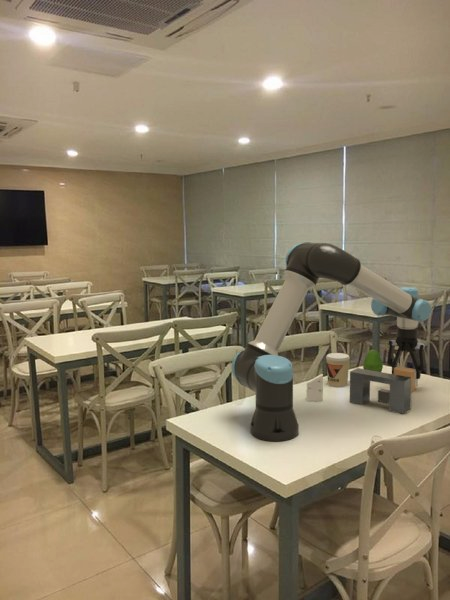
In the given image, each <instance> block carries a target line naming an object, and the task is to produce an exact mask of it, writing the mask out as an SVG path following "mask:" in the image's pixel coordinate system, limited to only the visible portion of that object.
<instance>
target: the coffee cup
mask: <svg viewBox="0 0 450 600" xmlns="http://www.w3.org/2000/svg"><path fill="white" fill-rule="evenodd" d="M325 358H326V359H325V360H326V374H327V377H326V378H327V385H328V384H329V386H331V387H334V388H335V387H336V388H343V387H347V385H348V381H349V370H350V369H349V368H350V355H348V354H347V353H342V352H331V353H328V354H327V355H326V357H325Z"/></svg>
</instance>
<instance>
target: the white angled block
mask: <svg viewBox="0 0 450 600" xmlns="http://www.w3.org/2000/svg"><path fill="white" fill-rule="evenodd" d="M323 397H324V375H323V373H321V374H319V375H317V376H315V377H314V378H312V379H310V380H308V381H307V382H306V402H324V398H323Z"/></svg>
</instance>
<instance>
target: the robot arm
mask: <svg viewBox="0 0 450 600" xmlns="http://www.w3.org/2000/svg"><path fill="white" fill-rule="evenodd" d="M285 263H286V264H285V266H286V268H285V269H284V272H283V273H284V275H285V280H284V282H283V283H282V285H281V288H280V289H279V291H278V293H277V296H276V297H275V298H274V301H273V303H272V305H271V307H270V309H269V311H268V313H267V315H266V317H265V319H264V321H263V322H262V324H261V327H260V329H259V331H258V333H257V335H256V336H255V339H253V340H251V341H248V343H247V344H246V347H245V348H244V349H243V350H240V351H238V352H237V353H236V354H235V355H234V357H233V359H232V362H231V373H232V375H233V378H234V379H235V380H236V381H237V382H238V383H239V384H240V385H242V386H244V387H246V388H247V389H250V390H251V391H253V392H255V393H254V394H255V409H254V411H253V415H252V419H251V422H250V434H251V435H252V436H253V437H255V438H256V439H259V440H263V441H270V442H283V441H288V440H291V439H294V438H296V437H297V436H298V435H299V431H300V428H299V427H300V425H299V422H298V420H297V417H296V414H295V410H294V368H293V363H292V362H291V360H290V359H288V358H286V357H284V356H282V355H279V353H278V351H279V349H280V347H281V345H282V343H283V342H284V339H285V337H286V335H287V333H288V331H289V329H290V327H291V325H292V324H293V321H294V319H295V317H296V315H297V313H298V311H299V309H300V308H301V305H302V304H303V301H304V299H305V298H306V296H307V293H308V291H309V290H311V289H313V288H315V287H316V285H317V283H318V281H319V280H320V279H325V280H330V281H334V282H337V283H339V284H341V285H343V286H348V285H349V286H351V287H353V288H354V289H356V290H358V291H360V292H361V293H363V294H364V295H367V296H368V297H370V298H372V300H371V302H370V307H371V311H372V313H373V314H375V315H376V316H383V317H384V316H392V317H396V326H397V328H396V339H391V340H389V341H388V355H387V363H386V364H387V365H388V366H391V374H394V369H395V368H397V367H399V366H398V363H399V360H400V359H401V356H402V354H403V352H408V353H409V355H410V356H411V359H412V363H413V366H414V369H416V370H414V378H413V387H416V388H417V387H418V385H419V384H418V383H419V380H420V379H421V373H422V372H421V371H424V370H426V368H427V364H426V354H425V348H426V344H425V343H421V342H419V341H418V325H419V322H424V321H427V320H428V319H429V318H430V316H431V314H432V305H431V304H430V302H429V301H428V300H425V299H422V298H419V290H418V288H417V287H413V286H411V287H410V286H409V287H408V286H403V287H402V286H401V287H398V286H397V285H395V284H393V283H392V282H390V281H388V280H386V279H385V278H384V277H382V276H380V275H378V274H377V273H375V272H373V271H372V270H371V269H368V268H367V267H366V266H364V265H362V262H361V260H360V259H359V258H357V257H356V256H354V255H352V254H350V253H349V252H347V251H346V250H344V249H342V248H341V247H338V246H336V245H334V244H332V243H328V242H308V241H307V242H306V241H305V242H300V243H297V244H295V245H293V246H291V247H290V249H289V250H288V251H287V253H286V256H285ZM396 345H397V347H398V348H397V351H396V354H395V347H396ZM416 347H417V348H418V355H417V350H416ZM394 354H395V356H394Z"/></svg>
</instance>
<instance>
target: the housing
mask: <svg viewBox="0 0 450 600" xmlns="http://www.w3.org/2000/svg"><path fill="white" fill-rule="evenodd" d="M371 382H374V383H380V384H385V385H389V390H390V403H389V412H392V413H396V414H400V415H405V414H406V413H408V412H409V411H411V403H412V402H411V401H412V392H411V377H406V376H401V375H395V374H392V373H388V372H382V371H381V372H377V371H371V370H366V369H363V368H360V367H359V368H358V367H357V368H355V369H352V370H351V371H350V372H349V403H352V404H356V405H360V406H363V405H365V404H366V403H369V402H370V401H371V398H370V397H371Z"/></svg>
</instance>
